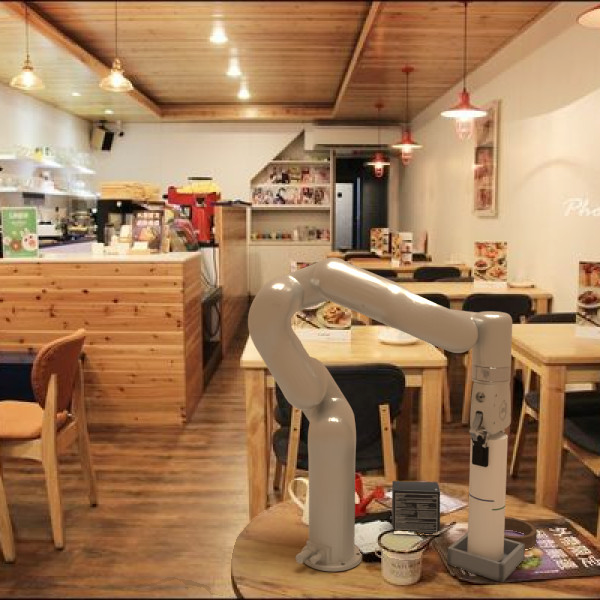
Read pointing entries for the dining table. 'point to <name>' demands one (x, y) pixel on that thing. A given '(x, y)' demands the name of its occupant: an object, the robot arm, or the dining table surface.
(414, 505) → the small box
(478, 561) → the tray
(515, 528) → the collar
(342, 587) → the dining table surface
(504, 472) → the cylindrical container
